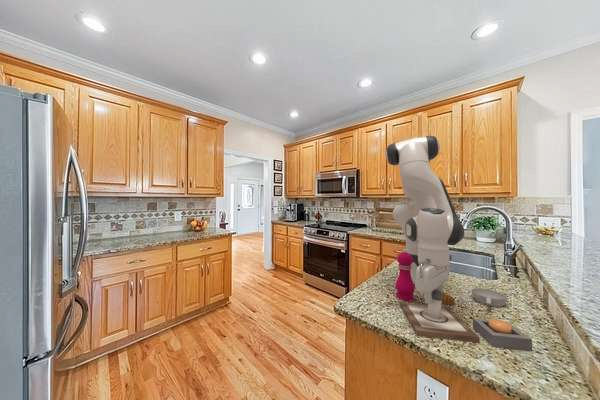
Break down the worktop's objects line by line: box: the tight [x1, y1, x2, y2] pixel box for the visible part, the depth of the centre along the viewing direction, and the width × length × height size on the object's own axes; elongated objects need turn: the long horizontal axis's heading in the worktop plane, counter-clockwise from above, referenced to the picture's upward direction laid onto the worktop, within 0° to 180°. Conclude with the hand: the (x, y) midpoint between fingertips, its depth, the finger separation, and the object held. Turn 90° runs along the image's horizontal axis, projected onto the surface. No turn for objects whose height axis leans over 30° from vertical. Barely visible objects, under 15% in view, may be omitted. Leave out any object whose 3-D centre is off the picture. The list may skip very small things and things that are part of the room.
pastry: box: [441, 291, 456, 305], centre depth 87 cm, size 9×7×4 cm
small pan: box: [470, 287, 508, 308], centre depth 83 cm, size 11×18×4 cm, turn 139°
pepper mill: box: [395, 248, 416, 302], centre depth 89 cm, size 7×7×20 cm
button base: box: [472, 317, 533, 352], centre depth 62 cm, size 9×9×3 cm
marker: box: [427, 289, 443, 319], centre depth 70 cm, size 4×4×8 cm
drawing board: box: [399, 301, 481, 344], centre depth 71 cm, size 19×16×2 cm
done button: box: [488, 318, 512, 334], centre depth 62 cm, size 5×5×2 cm
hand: (433, 299), depth 71 cm, fingers open, 7 cm apart
